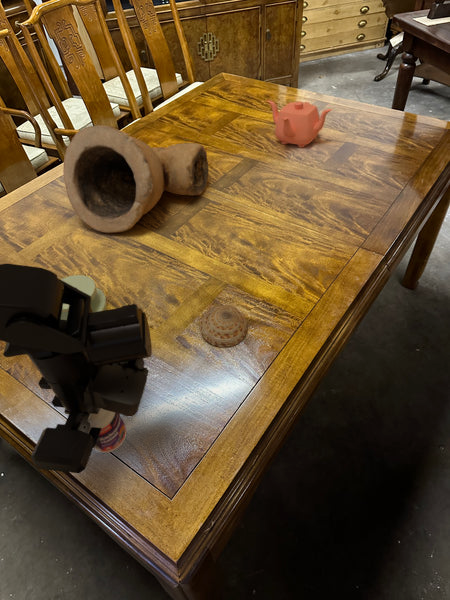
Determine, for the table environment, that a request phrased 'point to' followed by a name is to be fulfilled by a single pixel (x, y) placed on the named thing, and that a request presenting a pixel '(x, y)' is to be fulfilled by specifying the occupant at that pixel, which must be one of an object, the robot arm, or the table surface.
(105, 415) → the pill bottle
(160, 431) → the table surface
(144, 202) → the pipe
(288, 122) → the teapot
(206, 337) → the seashell
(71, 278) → the stand
